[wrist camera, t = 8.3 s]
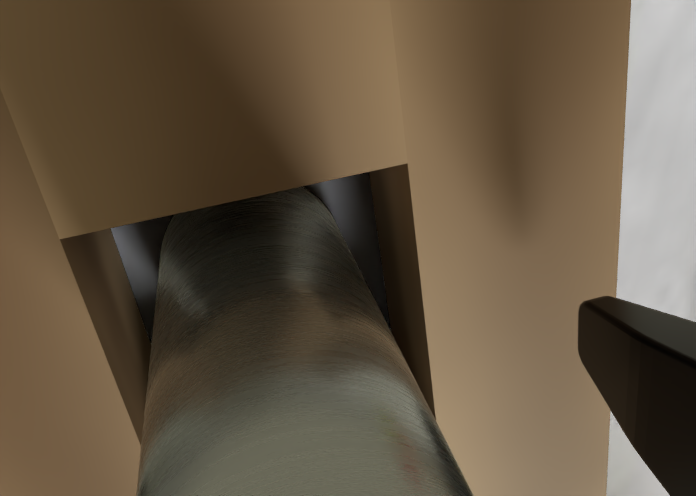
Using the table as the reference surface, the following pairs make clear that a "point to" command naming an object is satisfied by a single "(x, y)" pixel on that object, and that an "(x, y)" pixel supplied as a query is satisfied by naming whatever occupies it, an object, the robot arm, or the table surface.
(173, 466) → the long pin
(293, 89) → the hole block
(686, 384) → the robot arm
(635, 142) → the table surface
